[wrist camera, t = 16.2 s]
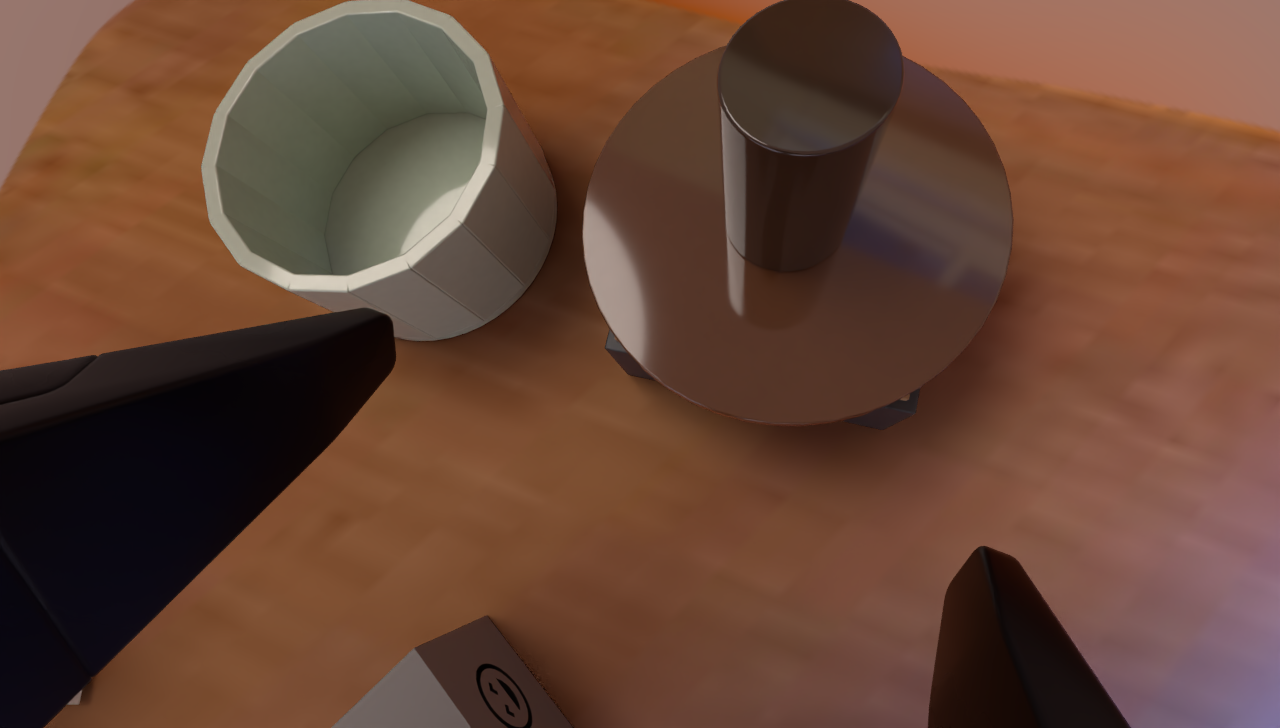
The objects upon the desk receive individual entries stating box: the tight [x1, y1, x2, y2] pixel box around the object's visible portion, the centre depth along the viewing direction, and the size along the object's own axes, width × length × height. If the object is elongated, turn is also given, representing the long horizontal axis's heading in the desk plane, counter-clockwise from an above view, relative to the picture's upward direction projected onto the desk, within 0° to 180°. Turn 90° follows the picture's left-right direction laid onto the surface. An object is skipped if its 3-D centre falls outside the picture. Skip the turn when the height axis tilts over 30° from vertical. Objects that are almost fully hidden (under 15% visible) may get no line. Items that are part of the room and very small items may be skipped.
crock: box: [201, 0, 557, 341], centre depth 22 cm, size 10×10×6 cm
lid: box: [582, 0, 1013, 426], centre depth 15 cm, size 12×12×7 cm
